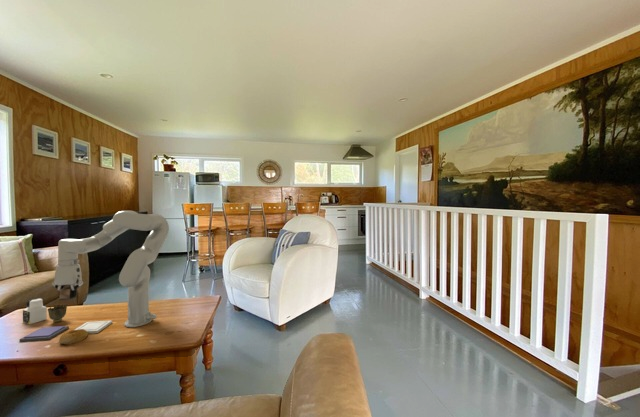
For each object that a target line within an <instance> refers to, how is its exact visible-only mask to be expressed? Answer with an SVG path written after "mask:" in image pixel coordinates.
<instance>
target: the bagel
mask: <svg viewBox="0 0 640 417" xmlns="http://www.w3.org/2000/svg"><path fill="white" fill-rule="evenodd" d="M88 335H89V334H88V332H87V331H85V330H84V329H80V330H75V329H72V330H70V331H67V332H64V333H61V335H60V337H59V340H58V342H59V344H62V345H73V344H76V343H79V342H81V341H83V340H85V339H86V338H87V337H88Z"/></svg>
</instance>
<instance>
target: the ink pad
mask: <svg viewBox="0 0 640 417" xmlns="http://www.w3.org/2000/svg"><path fill="white" fill-rule="evenodd" d="M68 329H69V325H62V326H61V325H60V326H46V327H45V326H44V327H39V328H38V329H36V330H34V331H32V332H31V333H28V334H27V335H25V336H23V337H21V338H20V339H19V342H20V343H21V342H23V343H24V342H37V341H38V342H39V341H50V340H51V339H53V338H55V337H57V336H58V335H60V334H63V332H65V331H67V330H68Z"/></svg>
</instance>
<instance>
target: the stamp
mask: <svg viewBox="0 0 640 417" xmlns="http://www.w3.org/2000/svg"><path fill="white" fill-rule="evenodd" d="M70 291H71V286H70V285H64V288H63V289H60V290H59V291H58V300H59V301H70V300H73V299H76V297H74V298H70Z"/></svg>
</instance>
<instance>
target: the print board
mask: <svg viewBox="0 0 640 417" xmlns="http://www.w3.org/2000/svg"><path fill="white" fill-rule="evenodd" d="M112 323H113V320H111V319H110V320H100V321H99V320H97V321H87V322H85V323H82V325H80V326H78V327H76V328H75V329H74V330H80V329H84V330H85V331H87V332H88V335H89V334H98V333H99V332H101V331H102V330H104V329H105V328H107V327H108V326H109V325H111V324H112Z"/></svg>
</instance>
